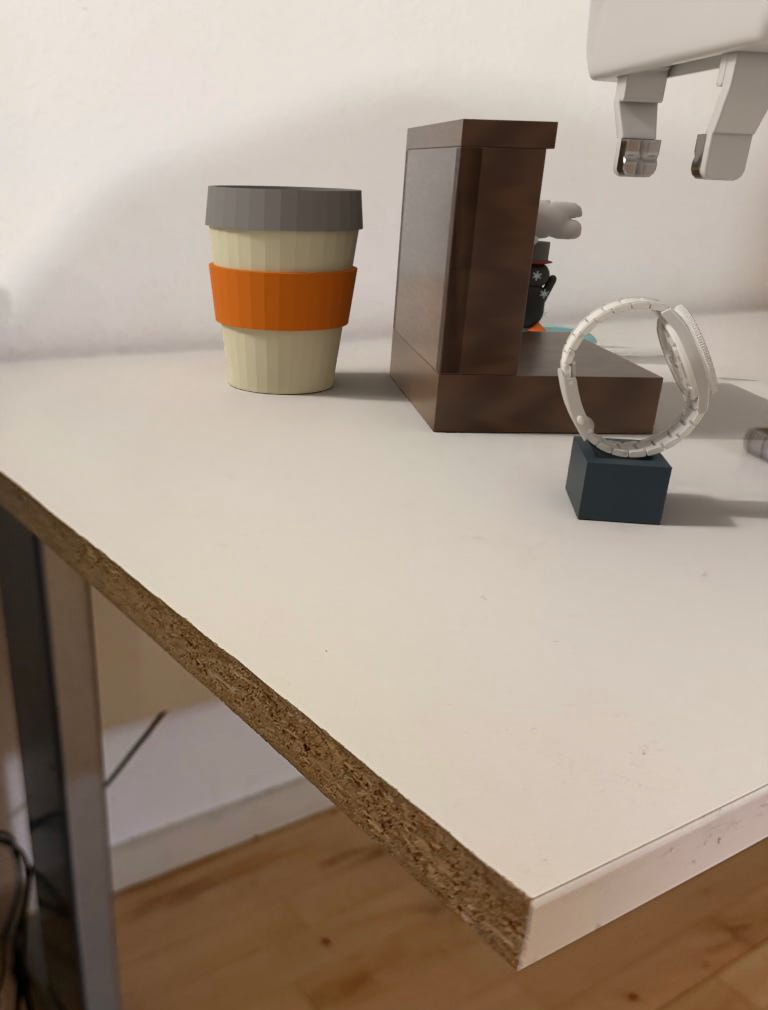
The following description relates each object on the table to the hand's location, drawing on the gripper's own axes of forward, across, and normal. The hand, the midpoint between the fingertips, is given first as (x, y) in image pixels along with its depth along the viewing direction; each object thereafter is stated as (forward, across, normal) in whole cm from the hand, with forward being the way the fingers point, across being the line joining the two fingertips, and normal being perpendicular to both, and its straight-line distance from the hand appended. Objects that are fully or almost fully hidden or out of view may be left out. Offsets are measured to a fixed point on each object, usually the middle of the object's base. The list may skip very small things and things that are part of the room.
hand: (670, 178), depth 46 cm
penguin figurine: (+17, +49, -6) cm, 52 cm away
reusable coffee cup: (+17, +32, +17) cm, 40 cm away
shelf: (+16, +26, -1) cm, 31 cm away
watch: (+17, 0, 0) cm, 17 cm away
